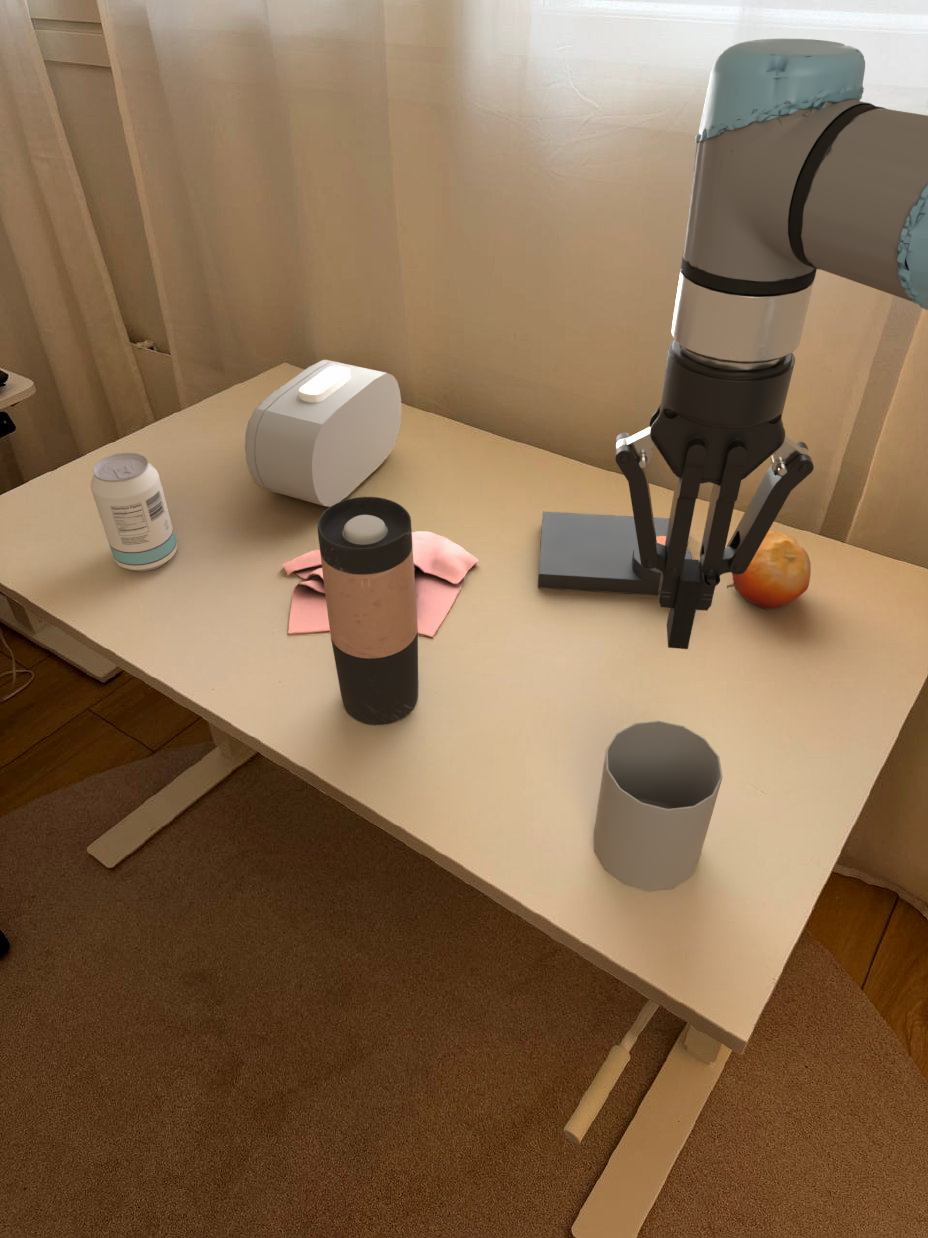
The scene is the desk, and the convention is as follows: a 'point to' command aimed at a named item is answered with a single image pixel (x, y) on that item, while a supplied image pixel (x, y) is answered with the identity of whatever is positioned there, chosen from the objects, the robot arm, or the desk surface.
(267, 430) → the alarm clock
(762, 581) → the fruit
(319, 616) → the cloth
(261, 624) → the desk surface
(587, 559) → the scale
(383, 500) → the travel mug
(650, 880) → the cup
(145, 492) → the beverage can
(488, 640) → the desk surface
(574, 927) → the desk surface
